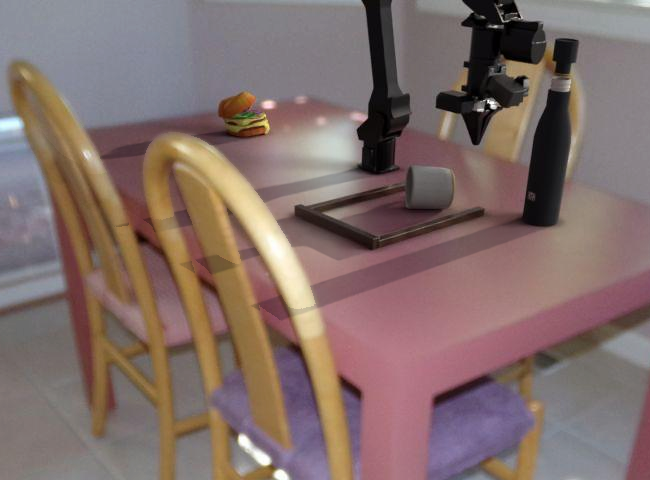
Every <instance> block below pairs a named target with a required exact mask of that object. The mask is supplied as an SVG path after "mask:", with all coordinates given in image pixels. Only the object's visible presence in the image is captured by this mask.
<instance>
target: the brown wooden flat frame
mask: <svg viewBox="0 0 650 480" xmlns="http://www.w3.org/2000/svg"><path fill="white" fill-rule="evenodd" d="M405 183H406V180H405V181H401V182H396V183H392V184H388V185H385V186H380V187H377V188H373V189H372V188H371V189H368V190H365V191H360V192H357V193H353V194H349V195H348V194H347V195H345V196H340V197H337V198H333V199H329V200H324V201H321V202H317V203H312V204H308V205H304V204H302V203H300V204H296V205H294V206H293V207H294V216H295V217H296V218H297V217H298V218H300V219H302V220H303V221H306V222H308V223H311V224H313V225H315V226H318V227H320V228H322V229H324V230H327V231H329V232H331V233H334V234H336V235H338V236H341V237H343V238H345V239H348V240H350V241H352V242H354V243H357V244H359V245H361V246H364V247H366V248H368V249H370V250H376V249H379V248H382V247H386V246H389V245H392V244H395V243H398V242H402V241H404V240H408V239H412V238H414V237H418V236H421V235H423V234H427V233H430V232H434V231H437V230H440V229H442V228H445V227H449V226H452V225H455V224H456V225H457V224H459V223H461V222H465V221H468V220H471V219H474V218H477V217H481V216H484V215H485V210H486V208H485V207H482V206H475V207H471V208H468V209H465V210H462V211H459V212H455V213H452V214H449V215H445V216H442V217H438V218H435V219H432V220H429V221H425V222H422V223H419V224H415V225H412V226H409V227H405V228H402V229H399V230H395V231H392V232H388V233H386V234H383V235H379V236H378V235H376V234H373V233H372V232H369V231H366V230H363V229H361V228H359V227H356V226H354V225H352V224H349V223H347V222H344V221H343V220H340V219H337V218H335V217H332V216H331V215H328V214H325V213H323V212H327V211H330V210H334V209H338V208H342V207H347V206H350V205H354V204H357V203H361V202H365V201H370V200H373V199H377V198H381V197H384V196H388V195H392V194H396V193H400V192H403V191H404V192H405Z"/></svg>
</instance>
